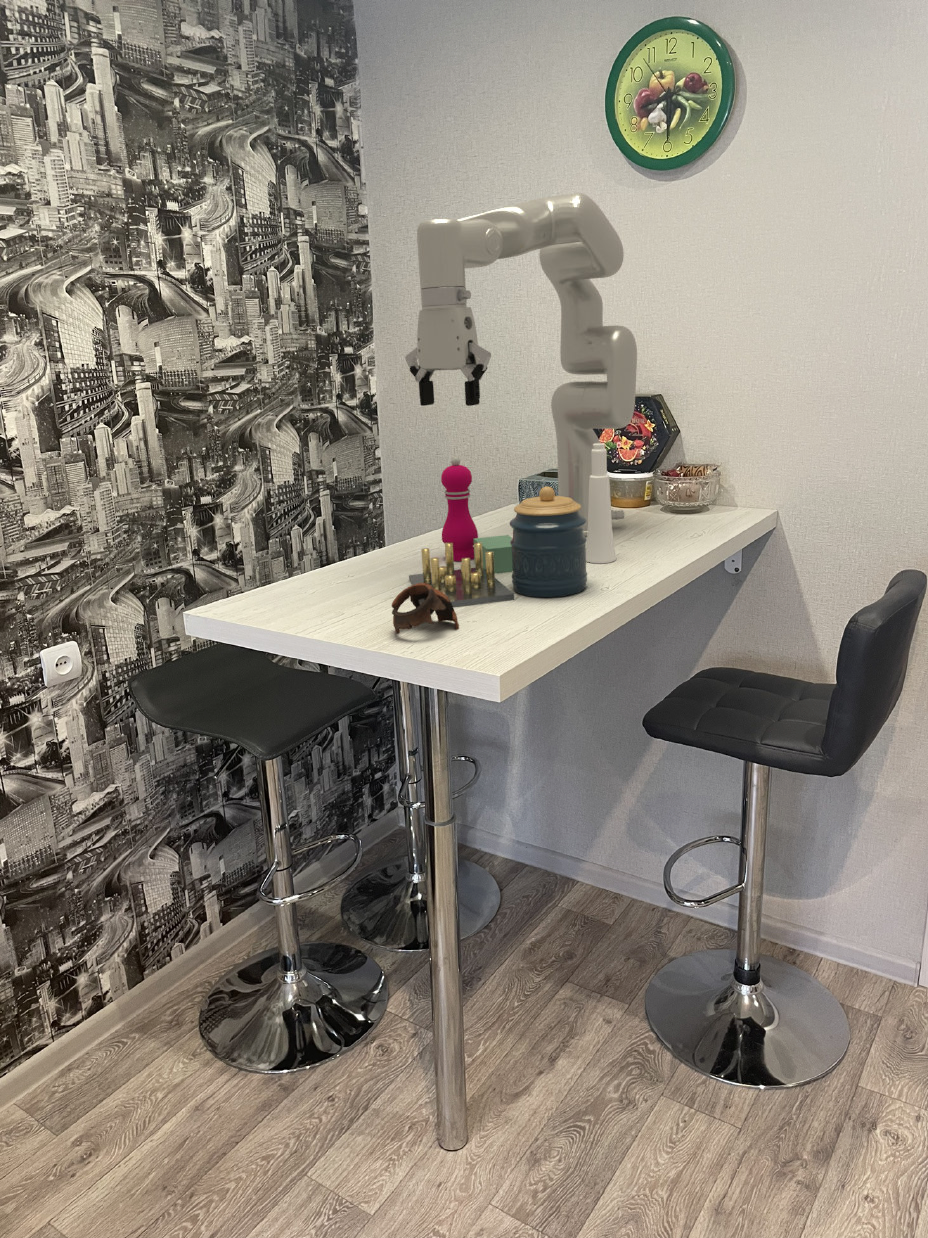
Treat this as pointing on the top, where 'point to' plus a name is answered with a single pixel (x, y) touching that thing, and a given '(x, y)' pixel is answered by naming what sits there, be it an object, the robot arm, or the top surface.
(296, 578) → the top surface
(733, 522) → the top surface
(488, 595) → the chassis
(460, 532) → the pepper mill
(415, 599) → the brown curved shards
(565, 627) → the top surface
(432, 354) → the robot arm
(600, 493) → the cosmetic bottle
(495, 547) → the green boxy piece
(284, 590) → the top surface
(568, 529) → the canister
